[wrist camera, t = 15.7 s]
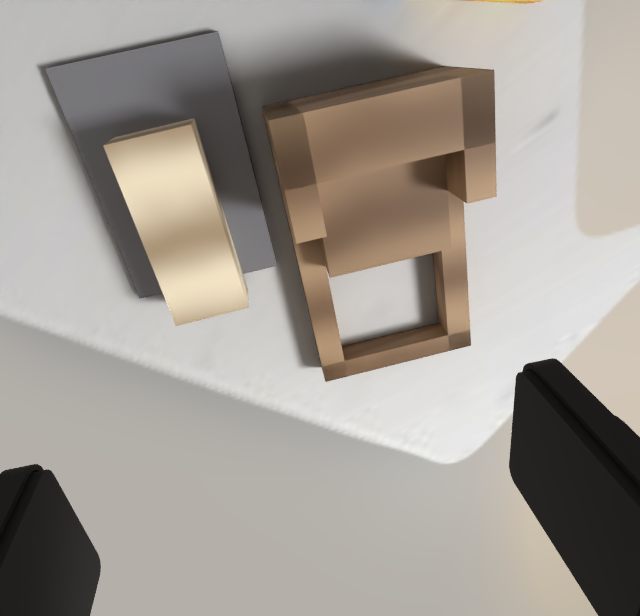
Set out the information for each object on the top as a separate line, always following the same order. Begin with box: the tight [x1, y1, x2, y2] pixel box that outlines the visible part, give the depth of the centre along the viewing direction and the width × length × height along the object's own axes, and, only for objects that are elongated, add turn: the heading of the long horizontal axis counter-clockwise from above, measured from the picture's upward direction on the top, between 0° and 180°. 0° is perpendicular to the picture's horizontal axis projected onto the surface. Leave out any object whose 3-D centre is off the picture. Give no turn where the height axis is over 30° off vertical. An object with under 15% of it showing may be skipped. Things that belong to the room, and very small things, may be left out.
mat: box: [45, 31, 277, 298], centre depth 32 cm, size 15×10×1 cm, turn 11°
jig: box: [262, 66, 497, 382], centre depth 34 cm, size 20×12×7 cm, turn 11°
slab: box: [103, 118, 248, 326], centre depth 32 cm, size 12×5×3 cm, turn 12°
